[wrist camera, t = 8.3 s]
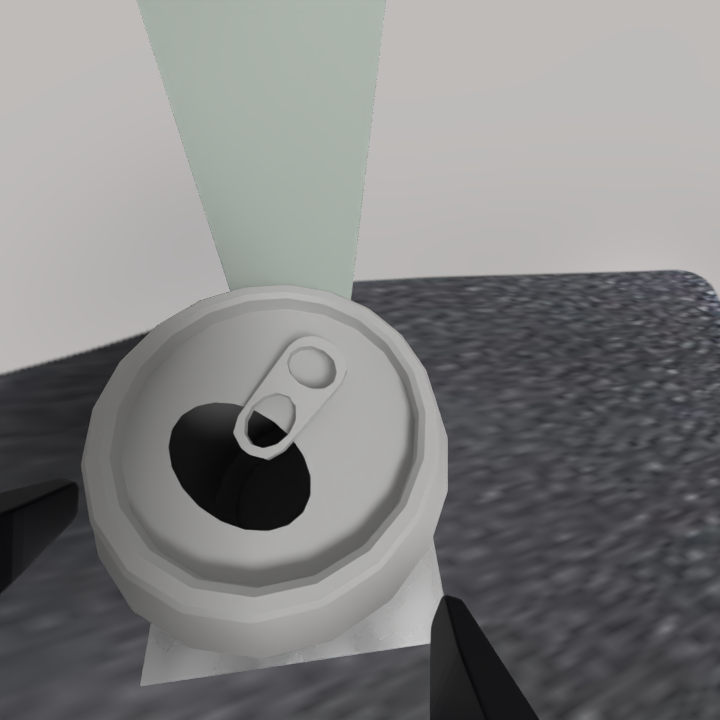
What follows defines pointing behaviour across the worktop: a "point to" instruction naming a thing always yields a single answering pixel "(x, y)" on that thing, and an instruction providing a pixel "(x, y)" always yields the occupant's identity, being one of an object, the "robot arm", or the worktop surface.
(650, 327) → the worktop surface
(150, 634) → the plate
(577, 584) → the worktop surface
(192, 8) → the press frame
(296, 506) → the can
